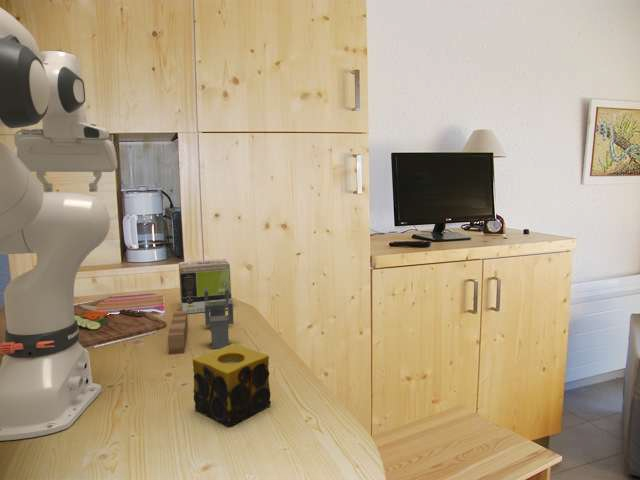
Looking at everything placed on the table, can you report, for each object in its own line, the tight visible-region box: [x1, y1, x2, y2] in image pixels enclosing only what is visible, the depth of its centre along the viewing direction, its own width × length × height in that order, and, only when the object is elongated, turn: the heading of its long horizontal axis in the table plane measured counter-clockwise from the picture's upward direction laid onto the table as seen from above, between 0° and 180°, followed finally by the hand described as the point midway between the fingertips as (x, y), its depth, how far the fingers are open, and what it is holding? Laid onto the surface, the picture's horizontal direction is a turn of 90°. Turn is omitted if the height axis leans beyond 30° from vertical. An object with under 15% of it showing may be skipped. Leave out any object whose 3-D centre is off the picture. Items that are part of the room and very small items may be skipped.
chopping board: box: [74, 298, 168, 350], centre depth 140 cm, size 45×27×3 cm, turn 44°
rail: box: [167, 310, 189, 355], centre depth 124 cm, size 20×4×5 cm, turn 13°
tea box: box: [178, 258, 232, 315], centre depth 152 cm, size 15×10×15 cm, turn 108°
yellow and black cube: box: [192, 343, 272, 428], centre depth 88 cm, size 10×10×10 cm
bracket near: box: [204, 298, 234, 350], centre depth 119 cm, size 4×7×11 cm, turn 104°
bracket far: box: [204, 287, 230, 328], centre depth 133 cm, size 4×7×11 cm, turn 104°
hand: (71, 191), depth 111 cm, fingers open, 8 cm apart
